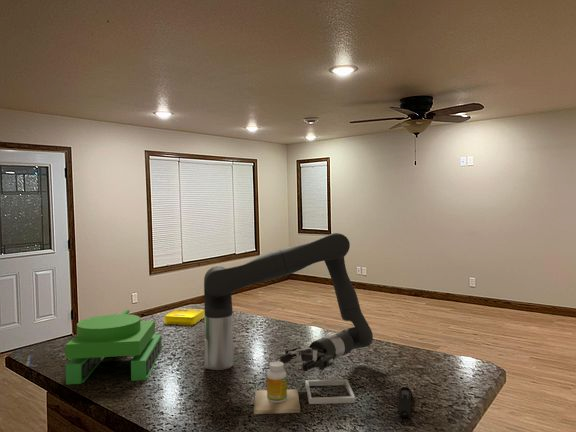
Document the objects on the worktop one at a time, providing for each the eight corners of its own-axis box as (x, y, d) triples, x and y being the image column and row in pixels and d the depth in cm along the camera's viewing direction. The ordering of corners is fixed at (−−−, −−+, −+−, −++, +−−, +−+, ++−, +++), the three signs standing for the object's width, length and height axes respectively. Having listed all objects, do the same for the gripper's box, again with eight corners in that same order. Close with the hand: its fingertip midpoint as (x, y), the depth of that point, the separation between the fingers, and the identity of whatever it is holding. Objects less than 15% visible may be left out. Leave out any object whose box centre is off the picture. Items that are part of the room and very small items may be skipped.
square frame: (309, 404, 118) (309, 398, 117) (305, 384, 130) (305, 380, 130) (355, 402, 118) (355, 397, 118) (347, 383, 131) (347, 379, 131)
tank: (165, 346, 170) (164, 305, 170) (147, 380, 135) (146, 328, 135) (100, 349, 167) (99, 307, 167) (65, 385, 132) (64, 332, 132)
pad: (253, 413, 112) (253, 410, 112) (255, 393, 124) (255, 390, 124) (300, 412, 113) (300, 408, 113) (297, 392, 125) (297, 389, 125)
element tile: (162, 325, 200) (162, 314, 200) (177, 316, 214) (177, 307, 214) (193, 326, 197) (193, 316, 197) (206, 318, 212) (205, 308, 211)
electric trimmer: (395, 421, 109) (395, 408, 109) (398, 394, 124) (398, 383, 123) (411, 423, 108) (411, 410, 108) (412, 396, 122) (412, 385, 122)
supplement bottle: (284, 404, 115) (284, 367, 115) (265, 402, 116) (264, 366, 116) (288, 395, 121) (288, 360, 120) (269, 394, 122) (269, 359, 122)
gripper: (309, 333, 139) (273, 345, 128) (345, 342, 130) (311, 356, 118) (309, 356, 140) (274, 370, 128) (346, 367, 130) (311, 384, 118)
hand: (291, 364), depth 123 cm, fingers open, 8 cm apart
